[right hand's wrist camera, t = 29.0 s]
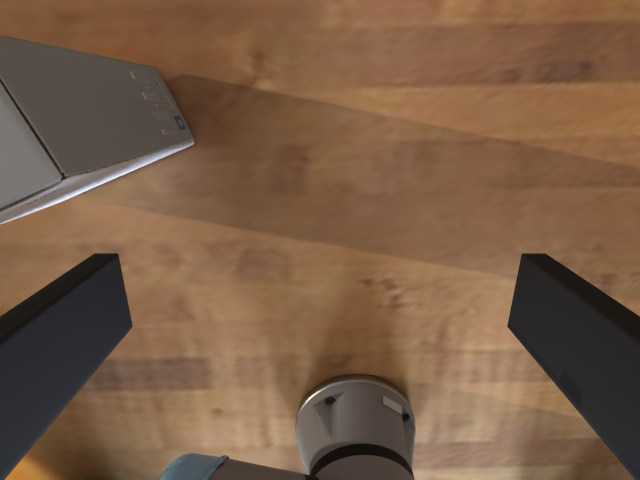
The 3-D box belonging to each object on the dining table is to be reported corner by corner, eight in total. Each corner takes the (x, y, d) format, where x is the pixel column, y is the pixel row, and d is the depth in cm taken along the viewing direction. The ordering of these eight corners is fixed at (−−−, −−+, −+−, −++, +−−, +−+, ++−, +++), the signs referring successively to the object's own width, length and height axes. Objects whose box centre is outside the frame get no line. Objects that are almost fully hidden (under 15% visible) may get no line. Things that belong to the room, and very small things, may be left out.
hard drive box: (158, 64, 35) (-33, 18, 16) (198, 142, 37) (74, 183, 18) (20, 131, 37) (-292, 160, 18) (67, 201, 39) (-165, 292, 20)
